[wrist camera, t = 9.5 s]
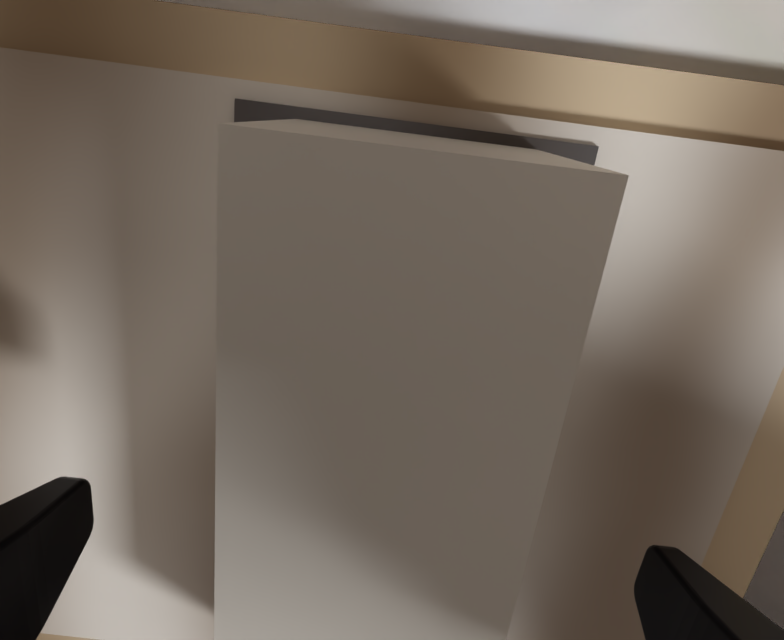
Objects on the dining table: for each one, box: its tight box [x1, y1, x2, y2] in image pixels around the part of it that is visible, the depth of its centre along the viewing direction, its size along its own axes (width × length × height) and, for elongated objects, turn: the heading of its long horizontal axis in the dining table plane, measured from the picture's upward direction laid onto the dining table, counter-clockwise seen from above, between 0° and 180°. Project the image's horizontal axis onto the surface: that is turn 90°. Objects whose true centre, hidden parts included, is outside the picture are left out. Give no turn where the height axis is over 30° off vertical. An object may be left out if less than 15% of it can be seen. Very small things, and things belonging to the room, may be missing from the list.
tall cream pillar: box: [214, 119, 629, 640], centre depth 9 cm, size 4×12×4 cm, turn 173°
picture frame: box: [0, 0, 784, 640], centre depth 12 cm, size 20×15×1 cm
